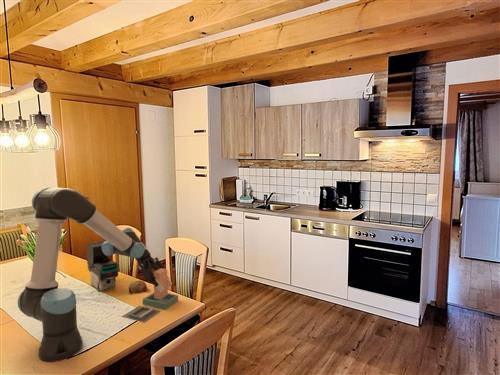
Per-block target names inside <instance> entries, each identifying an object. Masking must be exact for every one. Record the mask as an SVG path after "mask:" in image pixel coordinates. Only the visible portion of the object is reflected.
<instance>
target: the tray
mask: <svg viewBox="0 0 500 375" xmlns="http://www.w3.org/2000/svg"><path fill="white" fill-rule="evenodd" d="M178 301H179V294H174V293H170V292H168V295H167V296H165V297H164V298H162V299H161V300H160V299H155V298H154V292H152V293H151V294H149V295H147V296H145V297H143V298H142V306H146V307H151V308H154V309H155V308H156V309H159V310H160V309H161V310H163V311H165V310H167V309H168V308H170V307H172V305H173V306H174V304H176V303H178Z"/></svg>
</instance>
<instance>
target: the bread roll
mask: <svg viewBox="0 0 500 375" xmlns="http://www.w3.org/2000/svg"><path fill="white" fill-rule="evenodd" d="M147 289H148V287H147V284H146V282H145V281H143V280H139V279H138V280H133V281H132V282H130V283H129V285H128V290H127V291H128V294H129V295H134V294H141V293H145V292H146V291H147Z"/></svg>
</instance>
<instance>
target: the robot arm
mask: <svg viewBox="0 0 500 375" xmlns="http://www.w3.org/2000/svg"><path fill="white" fill-rule="evenodd" d="M31 205H32V208H33V209H34V211H35V216H34V219H35V220H36V221H37V222H38V226H37V227H38V228H37V234H36V239H35V245H34V246H35V249H34V255H33V262H32V270H31V275H30V280H29V281H28V282H27V283H26V284H25V286H24V289H23V290H22V292H20V294H19V296H18V298H17V307H18V309H19V311H20V312H21V313H22V314H24V315H26V317H30V318H33V319H34V320H36V321H38V322H40V323H41V324H42V338H41V342H40V346H39V348H38V358H39V359H40V360H42V361H44V362H57V361H62V360H65V359H68V358H70V357H72V356H74V355H76V354H77V353H78V352H79V351H80V350H81V349H82V348H83V344H84V343H83V336H82V335H81V333H80V330H79V328H78V322H77V321H78V320H77V318H78V317H77V297H76V294H75V292H74V291H73V290H71V289H70V288H69V289H68V288H60V287H59V282H58V281H57V280H56V273H57V267H58V260H59V252H60V245H61V238H62V230H63V224H64V223H65V222H66V221H68V219H70V220H72V221H73V222H76V223H77V224H80V225H82V224H83V225H84V226H86V227H87V228H89V229H90V230H92V231H93V232H94V233H95V234H96V235H98V236H99V237H101V238H102V239H104V241H105V242H104V243H103V244H102V251H103V253H104V254H105V255H106V256H108V257H111V256H113V255H120V256H123V257H127V258H128V257H129V258H132V259H135V260H136V261H137V263H138V264H139V265H138V266H137V269H138V271H140V273H141V274H142V276H143V277H144V279H145V280H146V282H147V283H149V284H152V285H153V286H154V285H155V287H157V288H158V290H159V291H160V292H161V291H162V290H163V289H164V288H163V286H162V285H161V284H160V282H159V281H158V280H157V279H155V277H154V274H153V272H155V271H157V270H159V269H161V268H162V269H166V268H165V266H164V265H163V263H162V262H161V261H160V260H159V258H158V257H157V256H156V257H155V258H153V257H152V256H151V252H150V251H149V250H148V249H147V247H146V246H145V244H144V243H143V242H142V241H141V238H140V237H139V236H138V235H137V234H136V232H135V231H134V230H133V229H132V228H131V227H126V228H124V229H121V228H119V227H118V226H117V225H115V224H114V223H113V222H112V221H110V220H109V219H108V218H107V217H106V216H104V215H103V214H102V213H101V212H100V211H98V209H97V206H96V205H95V204H94V202H91V201H90V200H89V199H88V198H86V197H85V196H84V195H82V194H81V193H79V192H78V191H76V189H72V188H65V187H57V186H50V187H49V186H47V187H42V188H40V189H39V190H38V191H36V192H35V193H34V194H33V196H32V198H31ZM152 270H154V271H152ZM167 283H168V288H170V287H171V286H172V285H173V283H172V281H171V280H170V278H169V276H168V275H167Z"/></svg>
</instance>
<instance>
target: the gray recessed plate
mask: <svg viewBox="0 0 500 375" xmlns="http://www.w3.org/2000/svg"><path fill="white" fill-rule="evenodd" d="M161 312H162V311H161V310H160V309H159V310H158V309H155V307H151V308H150V307H149V306H145V305H142V306H141V305H138V306H136V307H135V308H133V309H132V310H130V311H128V312H127V313H125V314H123V315H121V316H120V317H121V318H125V319H128V320H132V321H136V322H141V323H143V324H145V323H146V322H148V321H149V320H151V319H152V318H154V317H155V316H157V315H158V314H159V313H161Z"/></svg>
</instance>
